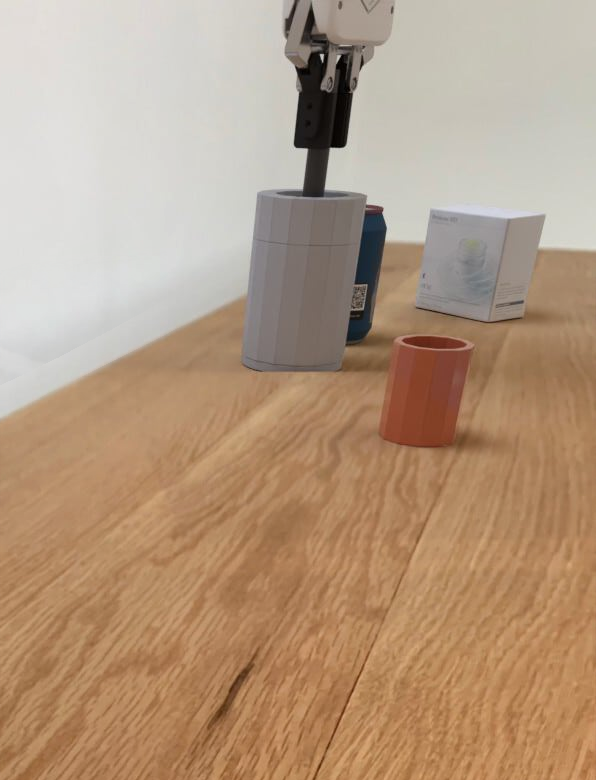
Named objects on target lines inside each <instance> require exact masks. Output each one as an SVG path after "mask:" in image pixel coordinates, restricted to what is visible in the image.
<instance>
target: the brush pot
mask: <svg viewBox="0 0 596 780" xmlns="http://www.w3.org/2000/svg"><path fill="white" fill-rule="evenodd" d="M475 346H476V345H475V344H474V343H473V342H471V341H470V340H467V339H463V338H459V337H454V336H448V335H439V334H406V335H400V336H397V337H395V339H394V340H393V344H392V348H391V349H392V350H391V356H390V359H389V360H390V362H389V366H388V367H389V368H388V374H387V379H386V385H385V390H384V397H383V401H382V402H383V403H382V408H381V414H380V420H379V426H378V436H379V437H380V438H382V439H383V440H385V441H387V442H390V443H393V444H396V445H400V446H406V447H413V448H441V447H447V446H449V445H452V444H453V443H454V442H455V440H456V438H457V433H458V428H459V424H460V418H461V413H462V409H463V404H464V400H465V399H464V398H465V394H466V390H467V385H468V381H469V380H468V379H469V375H470V370H471V366H472V360H473V356H474V350H475Z"/></svg>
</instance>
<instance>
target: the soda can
mask: <svg viewBox="0 0 596 780" xmlns="http://www.w3.org/2000/svg"><path fill="white" fill-rule="evenodd" d="M384 208H385V207H384V206H381V205H375V204H367V203H366V208H365V215H364V222H363V229H362V235H361V240H360V241H361V242H360V249H359V256H358V263H357V269H356V276H355V283H354V290H353V297H352V303H351V310H350V317H349V324H348V331H347V338H346V344H345V345H355V344H360V343H361V342H363V340H364V339H365V338H366V336H367V335H368V334H369V332H370V331H371V329H372V327H373V321H374V314H375V307H376V302H377V295H378V289H379V284H380V283H379V282H380V278H381V277H380V276H381V269H382V263H383V257H384V250H385V245H386V244H385V243H386V238H387V231H388V227H387V222H386V220H385V216H384V210H385V209H384ZM359 342H360V343H359Z"/></svg>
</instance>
